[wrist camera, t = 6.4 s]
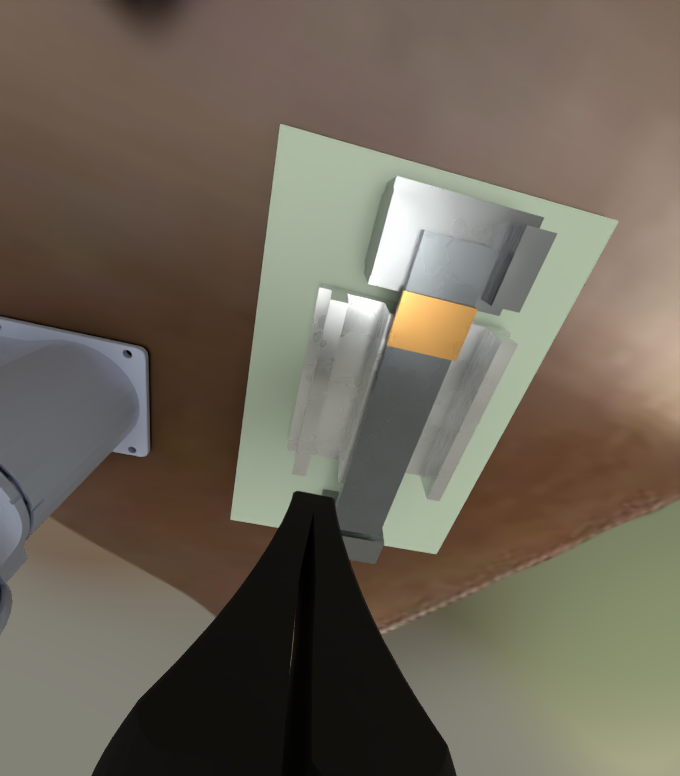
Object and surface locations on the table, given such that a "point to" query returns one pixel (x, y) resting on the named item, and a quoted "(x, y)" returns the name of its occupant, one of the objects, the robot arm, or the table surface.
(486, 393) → the heat sink
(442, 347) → the bar
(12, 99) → the table surface
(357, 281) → the pale green board
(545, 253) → the hinge and catch
